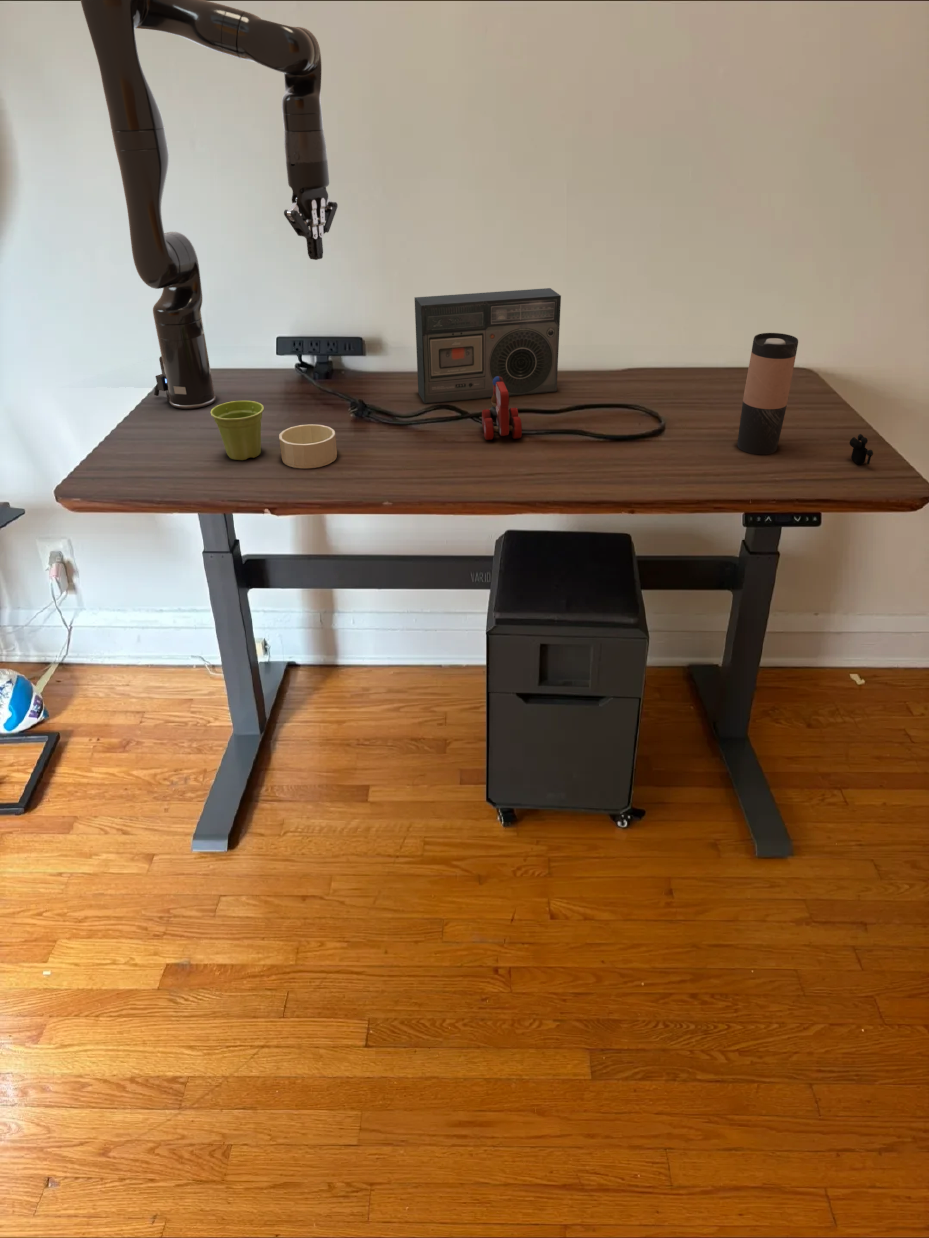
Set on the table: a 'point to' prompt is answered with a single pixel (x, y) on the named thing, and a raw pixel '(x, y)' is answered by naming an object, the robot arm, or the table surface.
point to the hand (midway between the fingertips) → (316, 258)
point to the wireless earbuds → (860, 450)
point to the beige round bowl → (308, 446)
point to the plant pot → (240, 427)
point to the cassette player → (487, 343)
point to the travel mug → (766, 392)
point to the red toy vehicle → (501, 414)
